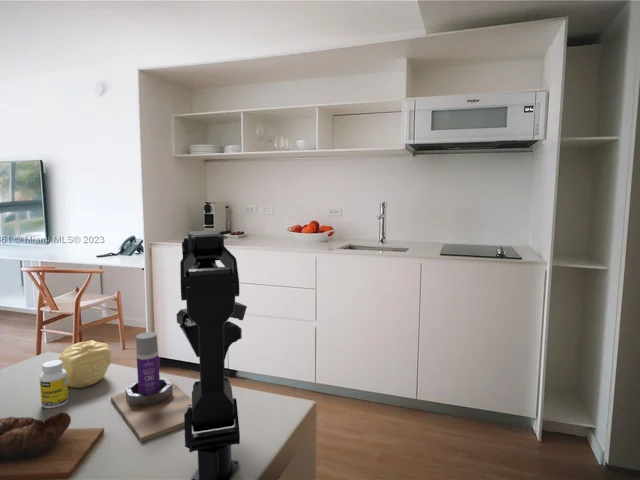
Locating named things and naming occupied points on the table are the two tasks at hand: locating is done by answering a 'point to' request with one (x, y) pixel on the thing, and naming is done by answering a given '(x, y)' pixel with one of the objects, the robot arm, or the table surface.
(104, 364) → the sculpture
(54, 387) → the supplement bottle
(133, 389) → the iron collar
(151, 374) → the container
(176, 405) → the wooden board
